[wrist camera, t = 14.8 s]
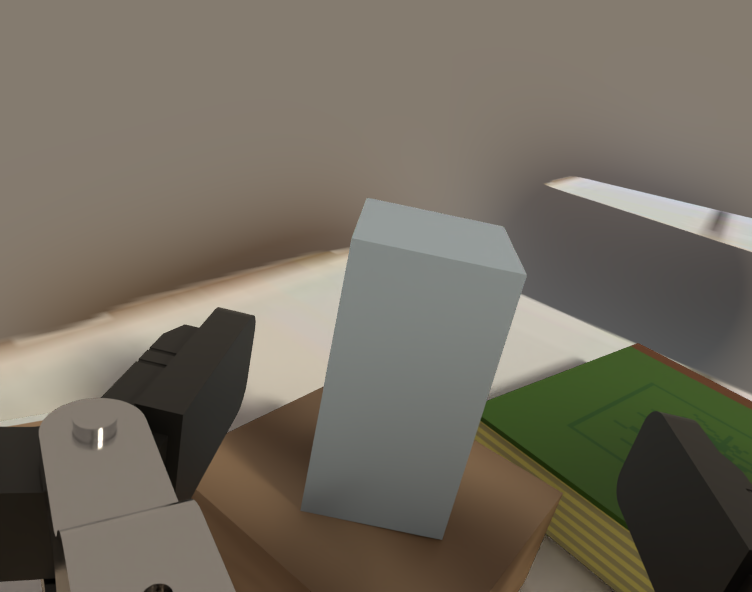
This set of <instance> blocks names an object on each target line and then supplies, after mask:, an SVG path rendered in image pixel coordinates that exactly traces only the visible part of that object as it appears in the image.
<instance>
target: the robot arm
mask: <svg viewBox="0 0 752 592" xmlns="http://www.w3.org/2000/svg"><path fill="white" fill-rule="evenodd" d="M254 332H255V316H254V315H249V314H245V313H241V312H237V311H232V310H228V309H224V308H220V307H218V308H216V309H215V310H214V311H213V313H212V314H211V315H210V316H209V317H208V318H207V319H206V321H205V322H204V323H203V324H202V325H201V326H200V328H198V327H193V326H189V325H183V326H180V327H178V328H176V329H173V330H171V331H168V332H166V333H164V334H162V335H161V337H160V338H159V339H158V340H157V341H156V342H155V343H154V344H153V345H152V346H151V347H150V349H149V350H147V351H146V352H145V353H144V354H143V355H142V356H141V357H140V358H139V361H138V362H135V363H134V364H133V365H132V366H131V367H130V368H129V369H128V370H127V371H126V372H125V373H124V375H123V376H122V377H121V378H120V379H119V380H118V381H117V382H116V383H115V384H114V385H113V386H112V387H111V388H110V389H109V390H108V391H107V392H106V393H105V394H104V395H103V396H102V397H101V398H91V399H83V400H78V401H74V402H71V403H68V404H66V405H63V406H61V407H59V408H57V409H55V410H54V411H52V412H51V413H50V414H48V415H47V416H46V417H45V418H44V420H43V421H42V423H41V425H40V426H36V427H0V582H2V581H19V580H36V579H41V586H42V592H236V591H235V589H234V586H233V584H232V582H231V579H230V577H229V575H228V572H227V570H226V568H225V565H224V563H223V560H222V558H221V556H220V553H219V551H218V549H217V546H216V544H215V542H214V539H213V537H212V535H211V532H210V530H209V527H208V525H207V523H206V520H205V518H204V516H203V513H202V511H201V509H200V507H199V505H198V504H197V502H196V501H195V500H193V499H191V498H192V496H193V494H194V492H195V490H196V488H197V487H198V485H199V483H200V481H201V479H202V477H203V476H204V474H205V472H206V470H207V468H208V466H209V465H210V463H211V461H212V459H213V457H214V456H215V454H216V452H217V450H218V448H219V446H220V445H221V443H222V441H223V439H224V437H225V435H226V434H227V432H228V430H229V428H230V426H231V424H232V423H233V421H234V419H235V417H236V415H237V413H238V411H239V409H240V406H241V403H242V400H243V397H244V393H245V389H246V385H247V378H248V372H249V365H250V358H251V352H252V345H253V338H254ZM616 493H617V501H618V505H619V507H620V510H621V512H622V514H623V517H624V519H625V522H626V524H627V526H628V529H629V531H630V534H631V536H632V538H633V541H634V543H635V546H636V548H637V550H638V553H639V555H640V558H641V560H642V562H643V565H644V567H645V570H646V572H647V574H648V577H649V579H650V582H651V584H652V586H653V589H654V591H655V592H752V484H751V482H750V481H749V480H748V478H747V477H746V476H745V474H744V473H743V472H742V471H741V470H740V469H739V468H738V467H737V466H736V465H734V464H733V463H732V462H731V461H730V460H728V459H727V458H726V457H725V456H724V455H723V454H721V453H720V452H719V451H718V450H717V448H716V447H715V446H714V444H713V443H712V441H711V440H710V439H709V437H708V436H707V435H706V433H705V432H704V430H703V429H702V428H701V426H700V425H699V424H698V423H697V422H696V421H695V420H692V419H688V418H684V417H680V416H676V415H671V414H667V413H663V412H659V411H654V412H651V413H650V414H649V415H648V416H647V417H646V419H645V420H644V422H643V424H642V427H641V429H640V431H639V433H638V435H637V437H636V439H635V441H634V443H633V445H632V448H631V450H630V452H629V454H628V456H627V458H626V460H625V462H624V464H623V467H622V469H621V471H620V473H619V476H618V481H617V489H616Z"/></svg>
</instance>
